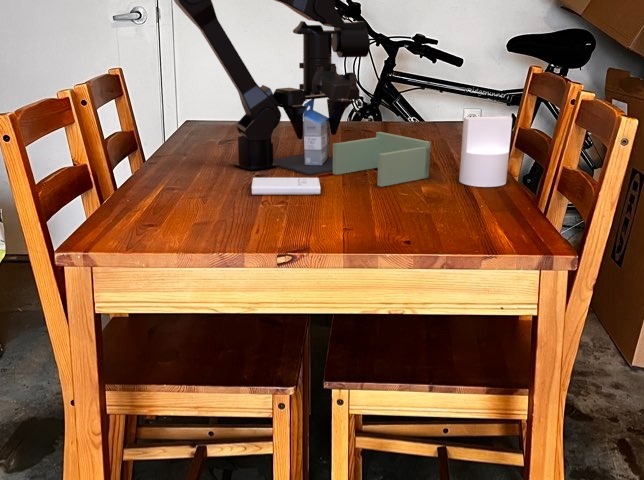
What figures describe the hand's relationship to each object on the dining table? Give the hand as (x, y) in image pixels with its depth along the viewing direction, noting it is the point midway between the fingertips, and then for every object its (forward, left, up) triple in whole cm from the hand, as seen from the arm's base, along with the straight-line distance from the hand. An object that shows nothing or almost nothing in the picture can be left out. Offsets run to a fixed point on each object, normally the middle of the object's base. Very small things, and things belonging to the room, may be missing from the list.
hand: (317, 136), depth 171 cm
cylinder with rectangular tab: (+15, -33, -6) cm, 37 cm away
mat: (-1, 0, -6) cm, 6 cm away
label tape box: (0, 0, -5) cm, 5 cm away
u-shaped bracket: (+2, -17, -5) cm, 18 cm away
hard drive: (-19, -15, -6) cm, 25 cm away
